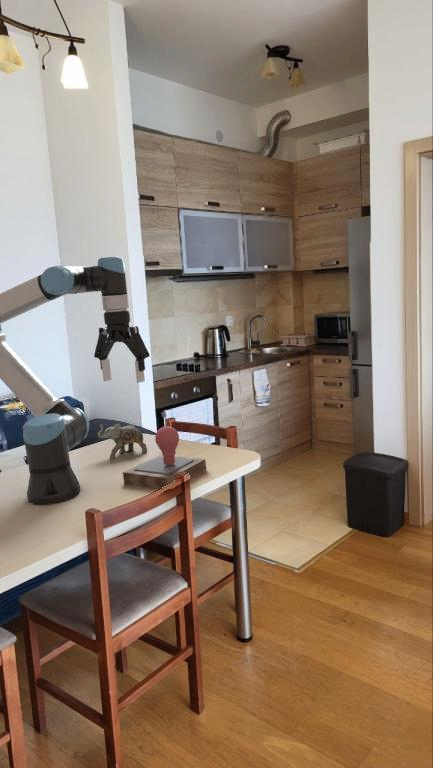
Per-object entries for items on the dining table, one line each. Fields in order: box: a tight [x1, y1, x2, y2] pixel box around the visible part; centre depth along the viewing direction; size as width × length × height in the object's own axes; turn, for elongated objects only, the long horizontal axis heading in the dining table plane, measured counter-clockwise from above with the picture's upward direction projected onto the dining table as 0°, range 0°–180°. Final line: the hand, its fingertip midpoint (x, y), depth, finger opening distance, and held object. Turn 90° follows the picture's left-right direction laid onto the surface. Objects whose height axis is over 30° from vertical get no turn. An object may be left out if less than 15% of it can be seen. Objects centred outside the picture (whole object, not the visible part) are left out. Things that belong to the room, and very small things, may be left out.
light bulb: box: [154, 425, 180, 465], centre depth 173 cm, size 7×7×12 cm
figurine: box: [97, 423, 148, 460], centre depth 205 cm, size 10×14×15 cm, turn 87°
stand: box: [122, 454, 207, 490], centre depth 176 cm, size 18×18×4 cm
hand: (123, 381), depth 173 cm, fingers open, 13 cm apart
